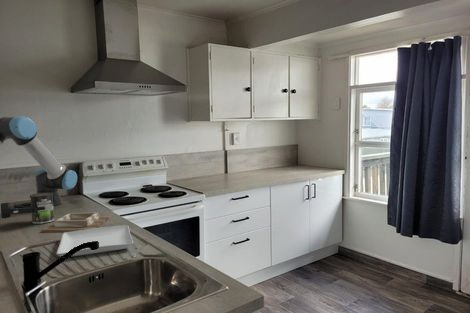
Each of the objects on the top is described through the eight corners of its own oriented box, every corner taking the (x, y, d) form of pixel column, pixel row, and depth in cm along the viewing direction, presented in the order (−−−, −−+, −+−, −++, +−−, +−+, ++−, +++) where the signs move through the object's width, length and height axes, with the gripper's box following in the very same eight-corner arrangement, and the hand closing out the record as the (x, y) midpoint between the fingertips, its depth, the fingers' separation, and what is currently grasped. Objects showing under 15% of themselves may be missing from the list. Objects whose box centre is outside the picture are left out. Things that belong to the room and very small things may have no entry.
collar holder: (65, 218, 191) (64, 211, 190) (110, 217, 191) (110, 210, 190) (41, 232, 167) (40, 224, 166) (93, 231, 167) (92, 222, 166)
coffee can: (57, 220, 185) (55, 194, 184) (34, 225, 178) (32, 197, 177) (51, 217, 193) (49, 191, 191) (29, 221, 186) (27, 194, 185)
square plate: (63, 240, 156) (62, 231, 155) (128, 232, 165) (128, 223, 165) (56, 262, 130) (55, 252, 130) (134, 251, 140) (133, 241, 140)
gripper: (2, 213, 186) (50, 207, 197) (0, 223, 166) (53, 216, 178) (1, 199, 185) (49, 194, 196) (-2, 207, 166) (52, 201, 177)
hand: (51, 204), depth 187 cm, fingers closed on coffee can, 10 cm apart
